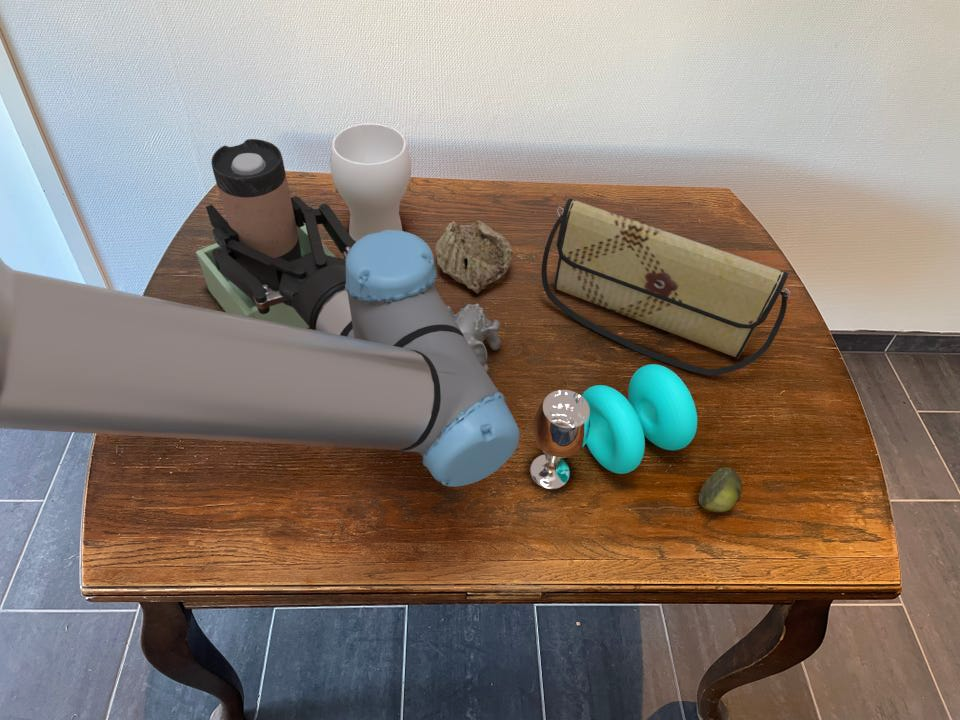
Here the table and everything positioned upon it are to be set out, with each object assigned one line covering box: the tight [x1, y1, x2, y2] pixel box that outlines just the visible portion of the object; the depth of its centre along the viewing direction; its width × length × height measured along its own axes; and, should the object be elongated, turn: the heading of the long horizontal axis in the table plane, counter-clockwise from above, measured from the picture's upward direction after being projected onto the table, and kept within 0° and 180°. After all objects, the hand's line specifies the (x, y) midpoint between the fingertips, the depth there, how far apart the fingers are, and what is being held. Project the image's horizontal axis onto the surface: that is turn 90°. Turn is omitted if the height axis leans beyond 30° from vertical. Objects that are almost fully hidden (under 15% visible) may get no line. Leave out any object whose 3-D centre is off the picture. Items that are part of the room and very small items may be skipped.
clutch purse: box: [541, 197, 791, 377], centre depth 85 cm, size 30×7×15 cm, turn 63°
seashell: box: [434, 220, 514, 294], centre depth 95 cm, size 11×7×10 cm
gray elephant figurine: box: [446, 302, 502, 373], centre depth 82 cm, size 9×12×8 cm
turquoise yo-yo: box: [581, 363, 698, 475], centre depth 76 cm, size 10×10×10 cm
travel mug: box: [210, 138, 302, 291], centre depth 82 cm, size 8×8×20 cm
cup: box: [329, 122, 412, 242], centre depth 95 cm, size 11×11×15 cm
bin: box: [195, 224, 336, 329], centre depth 89 cm, size 14×14×7 cm
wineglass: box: [529, 389, 591, 490], centre depth 72 cm, size 6×6×12 cm
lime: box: [698, 466, 743, 513], centre depth 74 cm, size 4×5×5 cm
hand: (243, 202), depth 84 cm, fingers closed on travel mug, 7 cm apart
